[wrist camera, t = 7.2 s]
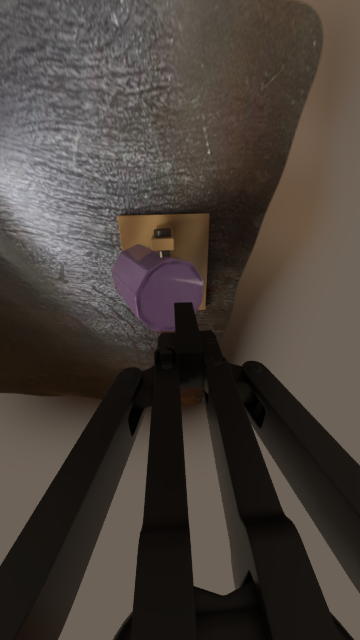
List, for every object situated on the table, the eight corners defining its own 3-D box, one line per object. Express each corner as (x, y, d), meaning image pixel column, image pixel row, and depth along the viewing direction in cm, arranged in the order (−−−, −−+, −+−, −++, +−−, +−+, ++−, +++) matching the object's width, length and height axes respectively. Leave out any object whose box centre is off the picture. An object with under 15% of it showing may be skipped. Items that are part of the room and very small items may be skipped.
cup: (129, 257, 17) (106, 242, 24) (141, 345, 22) (119, 311, 29) (205, 247, 20) (165, 236, 27) (202, 325, 25) (168, 299, 32)
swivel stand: (208, 213, 28) (232, 220, 18) (204, 306, 35) (219, 351, 25) (118, 215, 28) (88, 224, 17) (132, 309, 35) (117, 356, 24)
